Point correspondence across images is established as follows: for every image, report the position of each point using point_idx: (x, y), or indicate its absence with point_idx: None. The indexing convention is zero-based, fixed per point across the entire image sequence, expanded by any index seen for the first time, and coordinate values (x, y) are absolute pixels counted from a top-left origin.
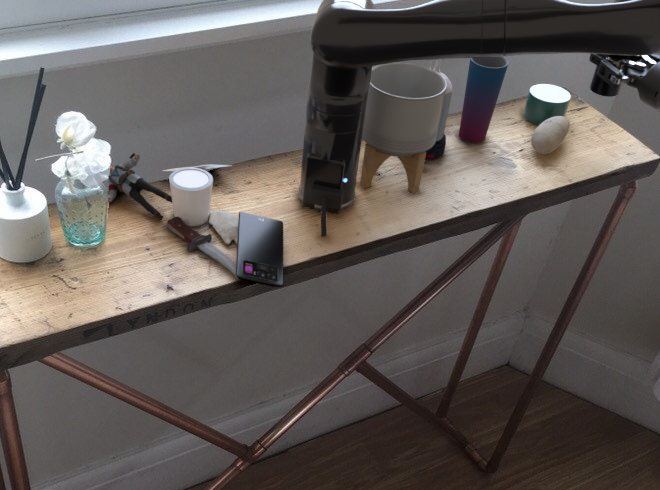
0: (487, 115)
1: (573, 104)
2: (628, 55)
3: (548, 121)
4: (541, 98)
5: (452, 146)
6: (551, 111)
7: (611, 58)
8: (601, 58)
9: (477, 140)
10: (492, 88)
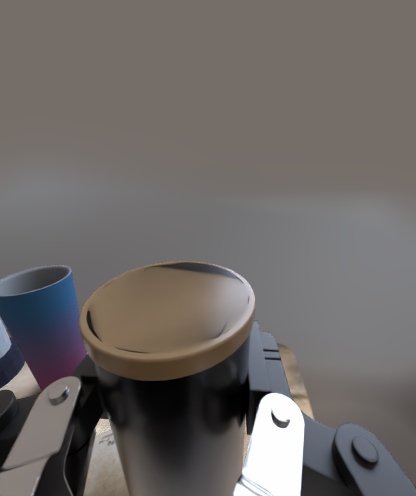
0: (35, 368)
1: (287, 379)
2: (157, 432)
3: (112, 437)
4: None
5: (16, 389)
6: None
7: (60, 401)
8: (78, 368)
9: None
10: (9, 328)
